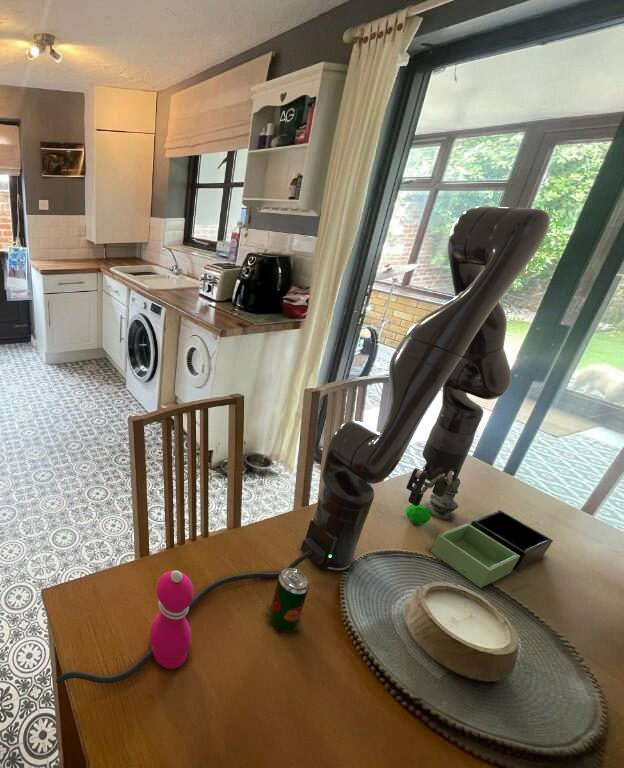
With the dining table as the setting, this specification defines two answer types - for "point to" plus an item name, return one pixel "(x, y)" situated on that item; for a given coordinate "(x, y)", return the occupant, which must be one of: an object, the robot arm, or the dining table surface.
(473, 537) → the green bin
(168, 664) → the pepper mill
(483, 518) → the charcoal bin
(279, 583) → the soda can
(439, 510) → the grey figurine
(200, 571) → the dining table surface
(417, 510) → the polyhedron
